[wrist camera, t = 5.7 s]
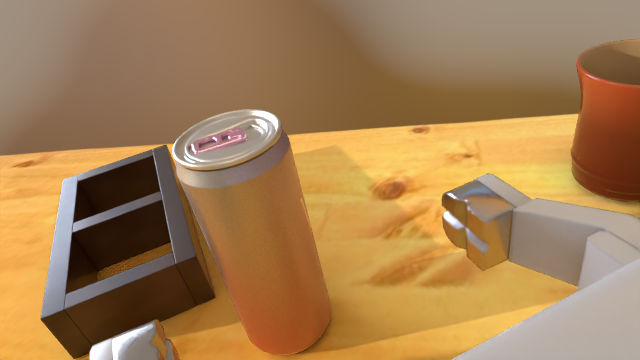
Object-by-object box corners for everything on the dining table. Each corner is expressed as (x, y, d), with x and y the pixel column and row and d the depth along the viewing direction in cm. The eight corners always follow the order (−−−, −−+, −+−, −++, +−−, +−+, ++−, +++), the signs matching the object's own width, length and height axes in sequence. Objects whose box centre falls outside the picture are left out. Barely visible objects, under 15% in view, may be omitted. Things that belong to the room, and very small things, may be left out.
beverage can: (241, 306, 32) (165, 128, 24) (316, 277, 34) (269, 97, 25) (258, 375, 28) (171, 183, 19) (346, 338, 29) (299, 140, 20)
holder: (73, 359, 31) (39, 319, 29) (84, 213, 47) (62, 179, 44) (215, 297, 34) (196, 255, 31) (181, 178, 49) (166, 144, 47)
